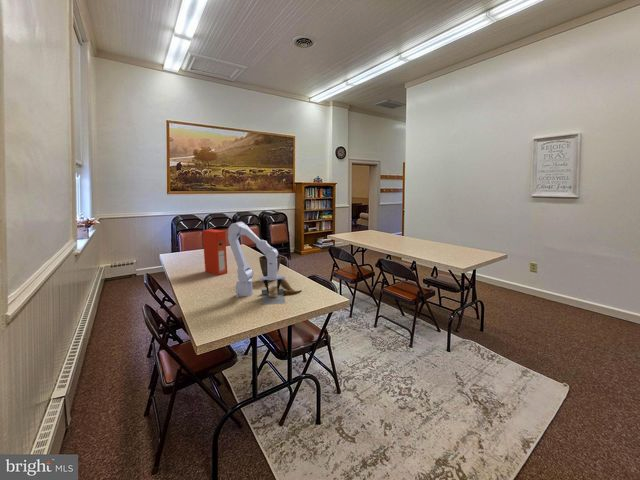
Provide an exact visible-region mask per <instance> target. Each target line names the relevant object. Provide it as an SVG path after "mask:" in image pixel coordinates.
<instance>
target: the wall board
mask: <svg viewBox="0 0 640 480" xmlns="http://www.w3.org/2000/svg"><path fill="white" fill-rule="evenodd" d="M284 290H285V287H279V292H277V297H269V293H267V289H266V288H262V289H261V305H262V306H264V305H282V304H283V305H284V304H286V298H285V295H283V291H284Z"/></svg>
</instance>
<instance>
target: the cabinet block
mask: <svg viewBox="0 0 640 480" xmlns="http://www.w3.org/2000/svg"><path fill="white" fill-rule="evenodd" d="M268 290H269V297H277V284H276V285H275V284H274V285H273V284H272V285H268Z"/></svg>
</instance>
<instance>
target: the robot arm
mask: <svg viewBox="0 0 640 480" xmlns="http://www.w3.org/2000/svg"><path fill="white" fill-rule="evenodd" d="M227 230H228V235H227V239H228V240H227V241H228V243H229V245H230V249H231V251H232V254H233V256H234V260H235V261H236V263H235V264H236V265H237V271H236V272H237V280H238V281H236V282H235V286H236V287H235V294H236V299H238V298H239V297H249V296H252V295H254V294H253V292H254V291H253V279H252V278H253V277H254V274H255V273H254V271H253V269H252V268H251V266H250V265H249V264H248V263H247V260H246V257H245V254H244V252H243V248H242V246H241V243H240V241H239V238H240V236H246V237H247V238H249V240H251V241H252V242H253V243H255V244H256V248H257V249H258V250H260V252H262V253H263V254H264V256H266V258H267V271H268V276H266V277H264V276H260V277H259V281H260V282H263V284H264V286H265V289H267V293H269V290H268V286H269V281H268V280H274V281H276V282H277V283H276V285H277V292H279V288H281V287H280V286H281V284H282V280H286V276H285V275H278V274H277V258H276V257H277V256H279V251H278V250H277V248H275V247H273V246H271V245H270V244H269V243H268V241H267V240H264V239H260V238H259V237H258V235H256V233H254V231H252V229H251V228H250V227H249V226H248V224H246V223H245V222H244V221H237V222H234V223H231V224H230V225H229V227H228V228H227Z"/></svg>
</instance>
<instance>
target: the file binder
mask: <svg viewBox="0 0 640 480" xmlns="http://www.w3.org/2000/svg"><path fill="white" fill-rule="evenodd" d="M202 243H203V259H204V271H205V272H206V273H209V274H213V275H215V276H222V275H226V274H228V258H227V240H226V231H225V230H219V229H215V228H214V229H213V228H209V229H204V230H203V229H202Z"/></svg>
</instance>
